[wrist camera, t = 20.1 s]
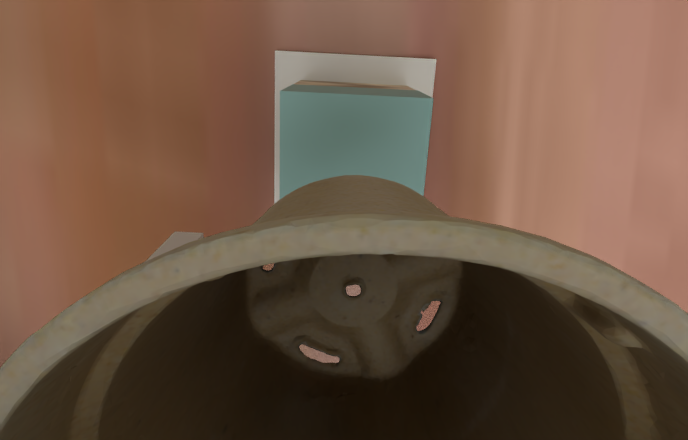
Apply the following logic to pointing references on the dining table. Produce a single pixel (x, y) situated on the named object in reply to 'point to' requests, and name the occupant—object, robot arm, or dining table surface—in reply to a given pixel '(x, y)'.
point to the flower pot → (357, 336)
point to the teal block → (353, 134)
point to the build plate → (345, 78)
